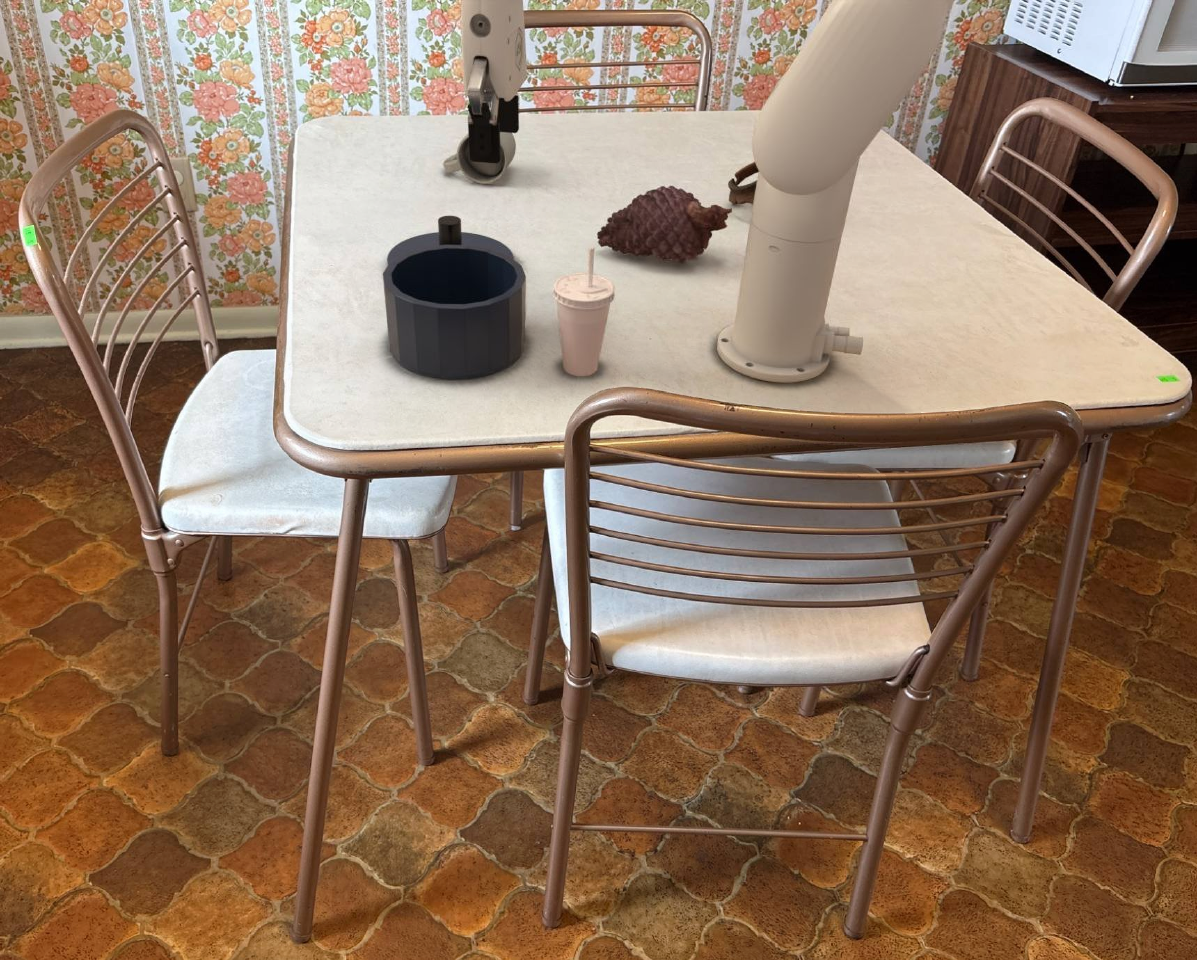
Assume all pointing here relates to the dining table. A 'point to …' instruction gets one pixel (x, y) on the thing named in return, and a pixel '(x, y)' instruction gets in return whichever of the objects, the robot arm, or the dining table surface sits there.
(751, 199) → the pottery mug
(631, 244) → the pine cone
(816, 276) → the robot arm
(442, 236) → the pot lid
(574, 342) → the smoothie
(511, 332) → the pot
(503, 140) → the ceramic mug
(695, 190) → the dining table surface
